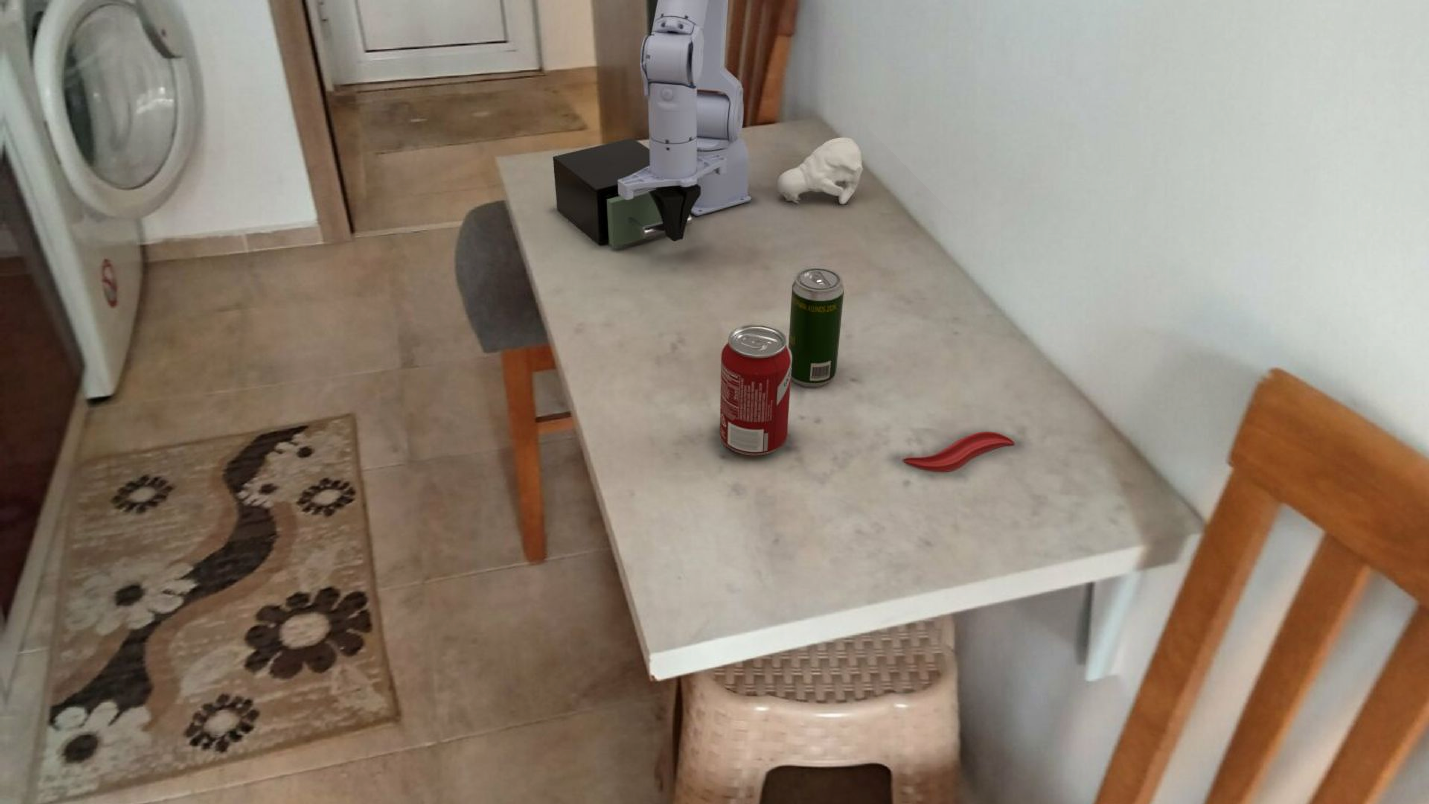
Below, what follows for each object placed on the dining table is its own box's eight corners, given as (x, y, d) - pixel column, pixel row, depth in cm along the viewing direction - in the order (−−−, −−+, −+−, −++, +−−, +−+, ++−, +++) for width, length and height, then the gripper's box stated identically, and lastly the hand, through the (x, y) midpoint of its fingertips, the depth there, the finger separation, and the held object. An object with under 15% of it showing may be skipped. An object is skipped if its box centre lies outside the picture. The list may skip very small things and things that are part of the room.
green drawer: (705, 240, 141) (705, 196, 138) (631, 262, 136) (629, 216, 132) (643, 195, 152) (642, 153, 148) (572, 214, 147) (569, 171, 143)
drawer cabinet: (679, 223, 147) (679, 168, 142) (599, 245, 141) (596, 189, 137) (634, 190, 155) (632, 137, 151) (556, 210, 150) (552, 156, 145)
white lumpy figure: (867, 145, 147) (782, 160, 146) (866, 201, 152) (785, 216, 151) (852, 128, 152) (770, 142, 151) (852, 183, 157) (773, 197, 156)
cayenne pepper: (909, 474, 104) (911, 459, 103) (895, 445, 108) (897, 430, 107) (1026, 464, 106) (1030, 448, 104) (1009, 435, 109) (1012, 420, 108)
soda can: (765, 469, 104) (770, 367, 97) (707, 445, 107) (707, 345, 100) (798, 433, 109) (805, 333, 102) (741, 412, 112) (744, 313, 105)
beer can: (845, 381, 117) (854, 285, 110) (802, 393, 115) (809, 296, 108) (819, 356, 121) (827, 262, 114) (777, 368, 119) (783, 272, 112)
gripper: (637, 159, 122) (640, 264, 130) (741, 133, 129) (739, 235, 137) (607, 138, 127) (612, 241, 135) (709, 114, 134) (708, 214, 142)
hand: (674, 237), depth 136 cm, fingers closed, pressing on green drawer
